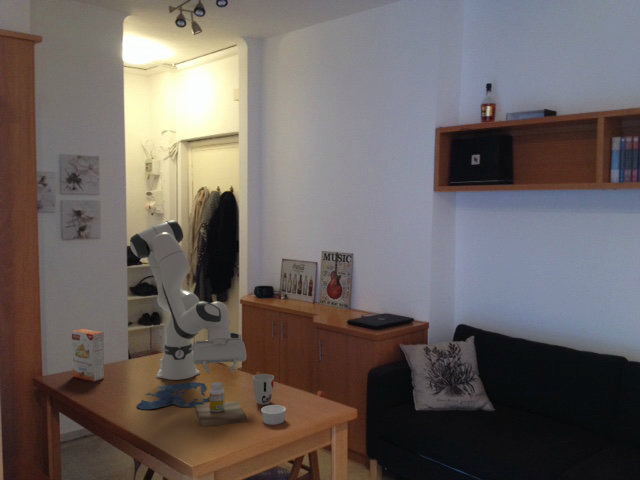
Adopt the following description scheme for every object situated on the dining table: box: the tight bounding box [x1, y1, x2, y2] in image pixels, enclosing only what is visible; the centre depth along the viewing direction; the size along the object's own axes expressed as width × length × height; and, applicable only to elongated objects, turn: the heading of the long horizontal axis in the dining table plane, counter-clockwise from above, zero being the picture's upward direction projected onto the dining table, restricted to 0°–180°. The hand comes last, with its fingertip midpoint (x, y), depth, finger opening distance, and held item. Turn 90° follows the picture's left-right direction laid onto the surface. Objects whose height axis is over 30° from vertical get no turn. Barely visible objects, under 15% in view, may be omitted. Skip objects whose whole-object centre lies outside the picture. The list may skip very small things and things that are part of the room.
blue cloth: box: [136, 381, 210, 410], centre depth 234 cm, size 27×29×1 cm
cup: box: [252, 373, 275, 405], centre depth 226 cm, size 8×8×10 cm
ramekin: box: [260, 404, 287, 426], centre depth 207 cm, size 9×9×4 cm
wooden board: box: [194, 400, 248, 427], centre depth 212 cm, size 18×16×2 cm
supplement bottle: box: [209, 381, 225, 412], centre depth 214 cm, size 5×5×10 cm
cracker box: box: [71, 328, 105, 382], centre depth 256 cm, size 14×6×21 cm, turn 60°
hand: (220, 371), depth 219 cm, fingers open, 8 cm apart
